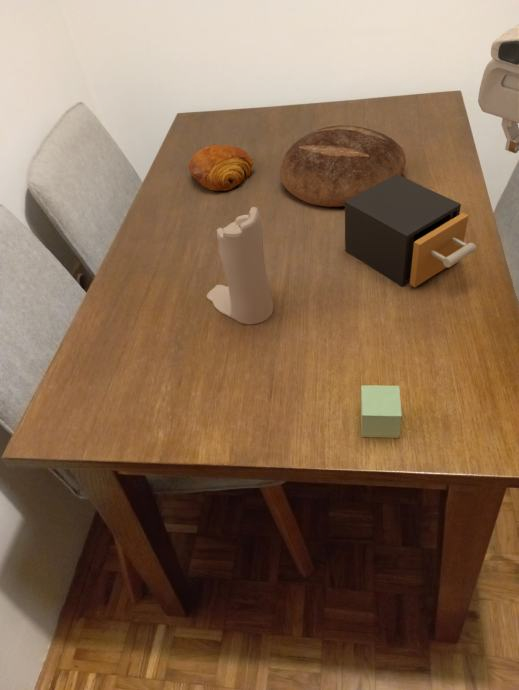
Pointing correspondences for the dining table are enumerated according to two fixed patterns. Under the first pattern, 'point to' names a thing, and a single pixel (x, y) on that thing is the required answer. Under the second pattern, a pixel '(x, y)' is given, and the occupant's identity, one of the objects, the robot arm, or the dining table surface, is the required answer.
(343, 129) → the bread
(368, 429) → the block
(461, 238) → the drawer
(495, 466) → the dining table surface
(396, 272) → the cabinet
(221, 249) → the candle
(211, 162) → the croissant
